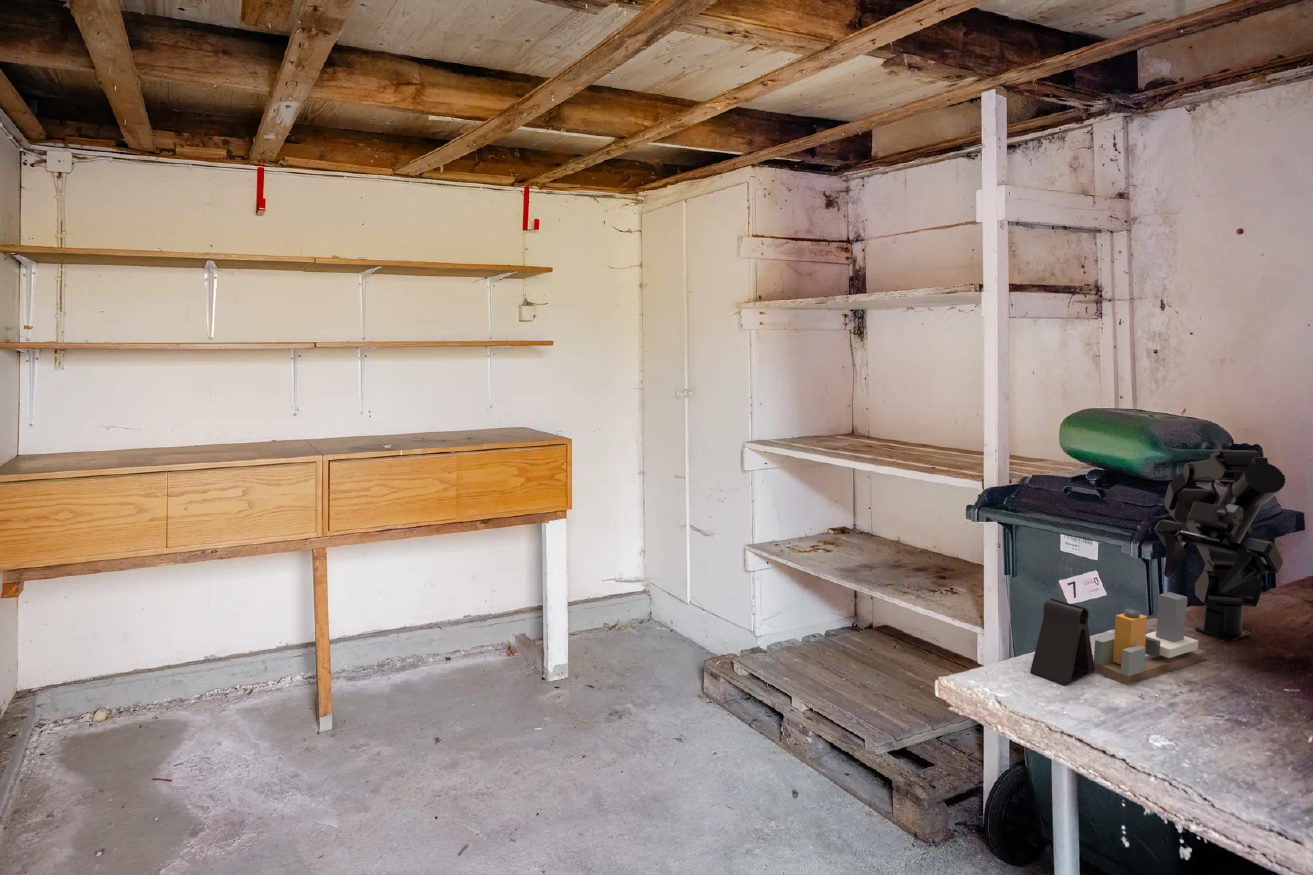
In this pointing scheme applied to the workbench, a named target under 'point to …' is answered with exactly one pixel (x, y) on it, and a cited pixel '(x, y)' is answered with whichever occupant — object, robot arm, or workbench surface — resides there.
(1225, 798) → the workbench surface
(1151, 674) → the rail bed
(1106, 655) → the end housing
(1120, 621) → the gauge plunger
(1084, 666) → the phone stand
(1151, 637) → the carriage
